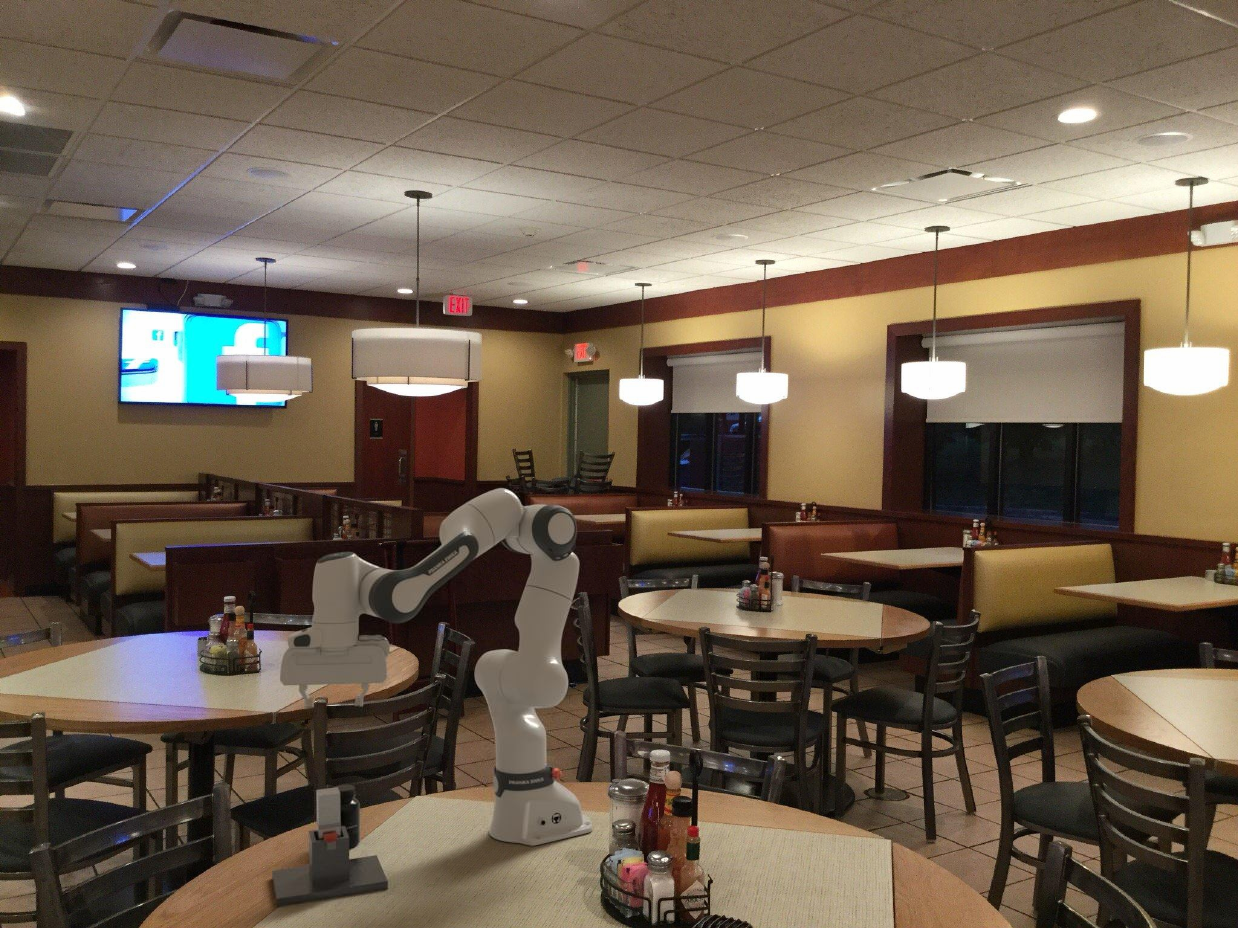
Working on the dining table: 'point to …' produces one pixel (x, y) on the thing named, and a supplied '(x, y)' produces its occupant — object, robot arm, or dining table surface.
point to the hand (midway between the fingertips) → (334, 706)
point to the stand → (328, 873)
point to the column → (328, 812)
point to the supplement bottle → (350, 813)
